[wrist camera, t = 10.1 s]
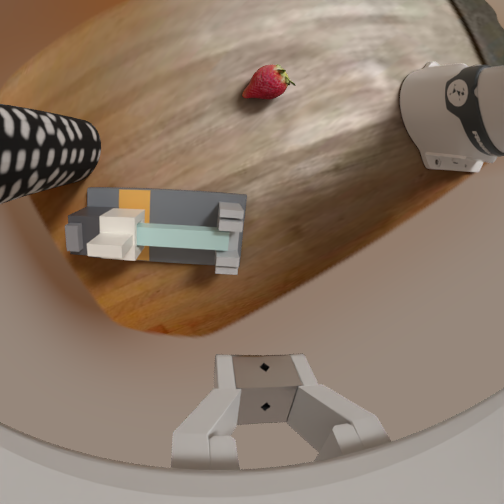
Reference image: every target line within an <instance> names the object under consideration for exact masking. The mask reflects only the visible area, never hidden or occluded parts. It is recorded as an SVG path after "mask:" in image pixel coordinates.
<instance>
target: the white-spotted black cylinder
mask: <svg viewBox="0 0 504 504" xmlns="http://www.w3.org/2000/svg"><path fill="white" fill-rule="evenodd" d="M100 152H101V141H100V136H99V134H98V131H97V130H96V128H95V127H94V126H93V125H92V124H91V123H89V122H87V121H85V120H81V119H77V118H72V117H68V116H63V115H59V114H54V113H49V112H44V111H39V110H34V109H28V108H22V107H16V106H10V105H3V104H0V204H1V203H5V202H8V201H10V200H14V199H17V198H20V197H23V196H26V195H30V194H33V193H37V192H40V191H44V190H47V189H51V188H54V187H58V186H62V185H66V184H70V183H74V182H78V181H80V180H83V179H84V178H86V177H87V176H88V175H89V174H90V173H91V172H92V171H93V170H94V168H95V167H96V165H97V163H98V160H99V157H100Z"/></svg>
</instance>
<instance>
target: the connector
mask: <svg viewBox="0 0 504 504" xmlns="http://www.w3.org/2000/svg"><path fill="white" fill-rule="evenodd" d="M113 208H115V207H89V206H87V207H85V208H83V209H81V210H79V211H77V212H75V213H72V214H70V215H68V224H67V225H65V234H66V246H67V251H70V252H71V254H75V255H88V254H87V243H88V242H90V241H91V240H92V239H93V238H95V237H96V236H97V235H99V234H100V220H99V216H101V215H103V214H104V213H106V212H108V211H109V210H111V209H113Z"/></svg>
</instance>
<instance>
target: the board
mask: <svg viewBox="0 0 504 504" xmlns="http://www.w3.org/2000/svg"><path fill="white" fill-rule="evenodd" d="M246 199H247V195H245V194H233V193H220V192H206V191H191V190H172V189H149V188H109V187H90V188H88V192H87V206H89V207H115V208H122V209H145V223H153V224H172V225H189V226H205V227H217V221H218V209H219V202H228V203H239V204H240V205H241V207H242V209H243V210H244V215H243V219H242V221H243V227H244V218H245V208H246ZM242 237H243V230H242V232H239V241H238V254H239V258H240V256H241V247H242ZM90 257H93V256H90ZM98 258H101V257H98ZM136 260H140V261H154V262H170V263H186V264H202V265H215V250H207V249H191V248H174V247H158V246H144V249H143V250H142V252H141V253H140V255H139V256H138V257H137V259H136ZM239 266H240V259H239Z"/></svg>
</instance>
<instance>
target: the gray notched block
mask: <svg viewBox="0 0 504 504" xmlns="http://www.w3.org/2000/svg"><path fill="white" fill-rule="evenodd" d="M243 215H244V210H243V209H242V207H241V205H240V204H239V203H228V202H219V209H218V221H217V227H218V229H219V231H229V232H230V234H229V245H228V251H223V250H215V274H233V275H237V273H238V267H239V259H240V258H239V254H238V241H239V232H242V230H243V221H242V219H243Z"/></svg>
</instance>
